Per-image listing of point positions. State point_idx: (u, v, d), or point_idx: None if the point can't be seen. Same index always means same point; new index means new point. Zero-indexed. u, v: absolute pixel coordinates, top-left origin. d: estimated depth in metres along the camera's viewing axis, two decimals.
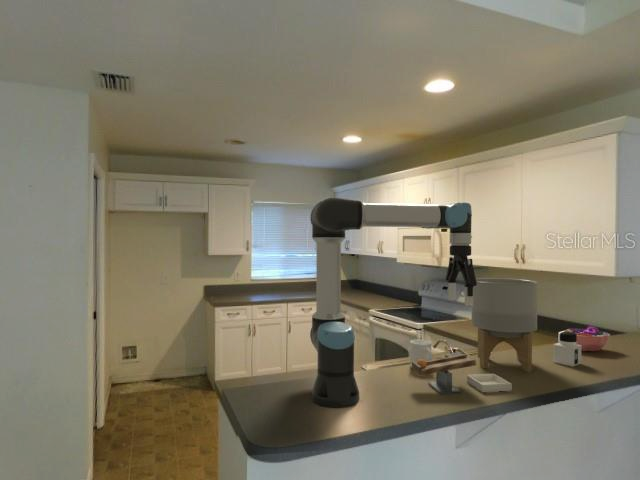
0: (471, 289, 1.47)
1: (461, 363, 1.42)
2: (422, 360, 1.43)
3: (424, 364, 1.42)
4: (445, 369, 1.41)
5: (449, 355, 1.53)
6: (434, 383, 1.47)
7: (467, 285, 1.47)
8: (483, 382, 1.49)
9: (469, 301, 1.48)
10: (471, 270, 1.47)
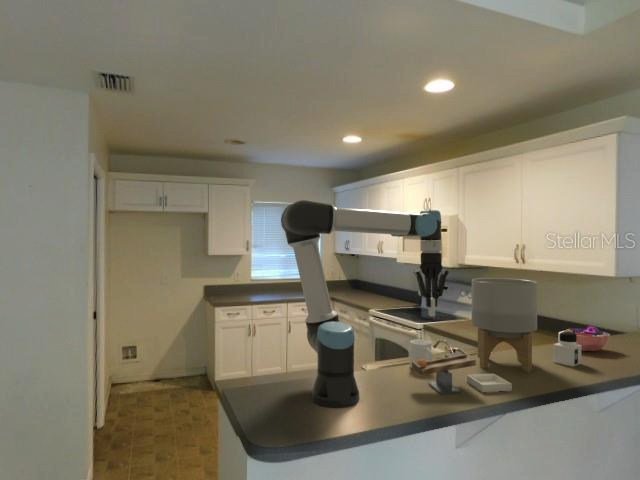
0: (427, 300, 1.56)
1: (461, 363, 1.42)
2: (422, 360, 1.43)
3: (424, 364, 1.42)
4: (445, 369, 1.41)
5: (449, 355, 1.53)
6: (434, 383, 1.47)
7: None
8: (483, 382, 1.49)
9: (430, 312, 1.56)
10: (419, 282, 1.55)
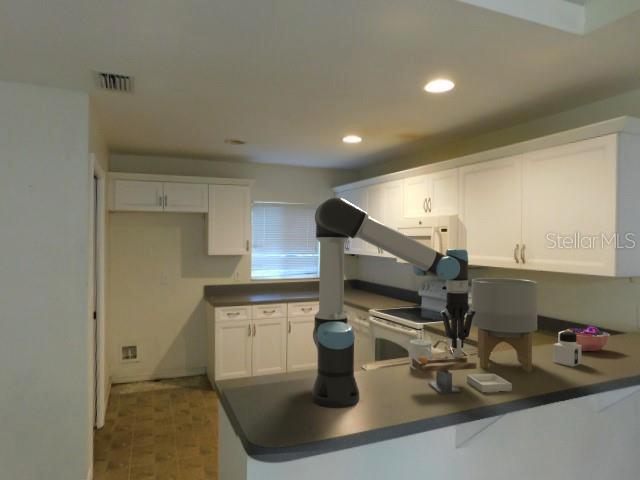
0: (453, 341, 1.52)
1: (462, 364, 1.42)
2: (423, 357, 1.43)
3: (425, 361, 1.42)
4: (445, 369, 1.41)
5: (450, 357, 1.53)
6: (434, 383, 1.47)
7: None
8: (483, 382, 1.49)
9: (455, 353, 1.52)
10: (445, 323, 1.51)
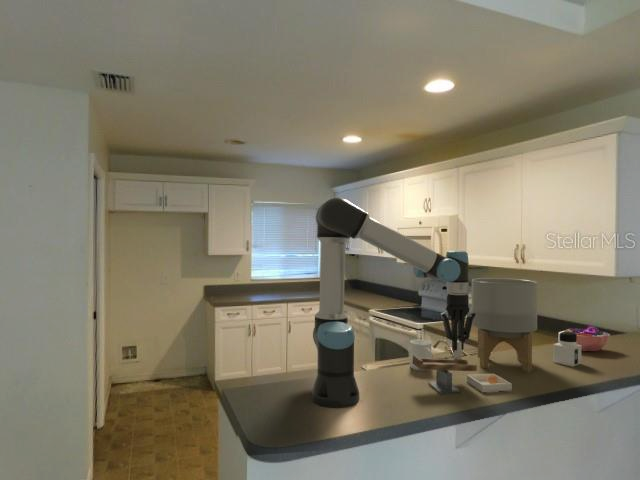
0: (453, 343, 1.52)
1: (462, 366, 1.42)
2: None
3: (494, 381, 1.46)
4: (445, 368, 1.41)
5: (450, 358, 1.53)
6: (434, 383, 1.47)
7: None
8: (483, 382, 1.49)
9: (456, 355, 1.52)
10: (445, 325, 1.51)
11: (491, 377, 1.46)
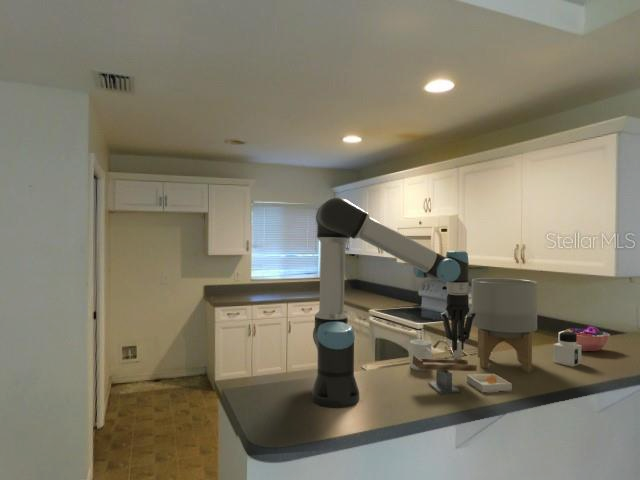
0: (453, 343, 1.52)
1: (462, 366, 1.42)
2: (490, 383, 1.46)
3: (493, 381, 1.45)
4: (445, 368, 1.41)
5: (450, 358, 1.53)
6: (434, 383, 1.47)
7: None
8: (483, 382, 1.49)
9: (456, 355, 1.52)
10: (445, 325, 1.51)
11: (491, 376, 1.46)
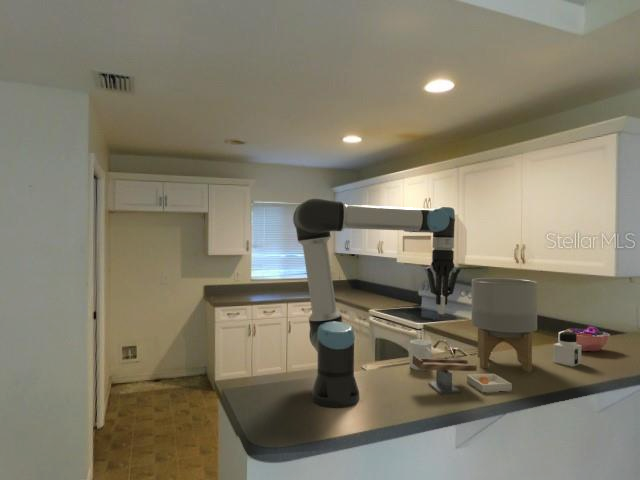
0: (437, 297, 1.54)
1: (462, 366, 1.42)
2: (488, 382, 1.46)
3: (486, 382, 1.45)
4: (445, 368, 1.41)
5: (450, 358, 1.53)
6: (434, 383, 1.47)
7: None
8: None
9: (439, 309, 1.55)
10: (429, 279, 1.54)
11: None
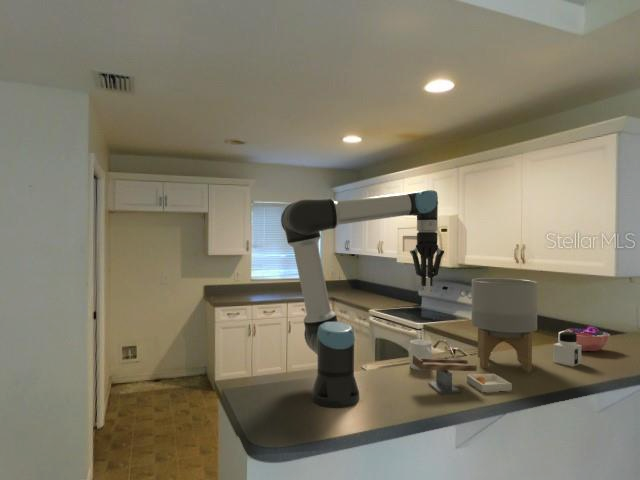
0: (422, 279, 1.58)
1: (462, 366, 1.42)
2: (485, 380, 1.46)
3: (483, 382, 1.45)
4: (445, 368, 1.41)
5: (450, 358, 1.53)
6: (434, 383, 1.47)
7: (421, 276, 1.59)
8: None
9: (425, 290, 1.58)
10: (414, 261, 1.57)
11: None
